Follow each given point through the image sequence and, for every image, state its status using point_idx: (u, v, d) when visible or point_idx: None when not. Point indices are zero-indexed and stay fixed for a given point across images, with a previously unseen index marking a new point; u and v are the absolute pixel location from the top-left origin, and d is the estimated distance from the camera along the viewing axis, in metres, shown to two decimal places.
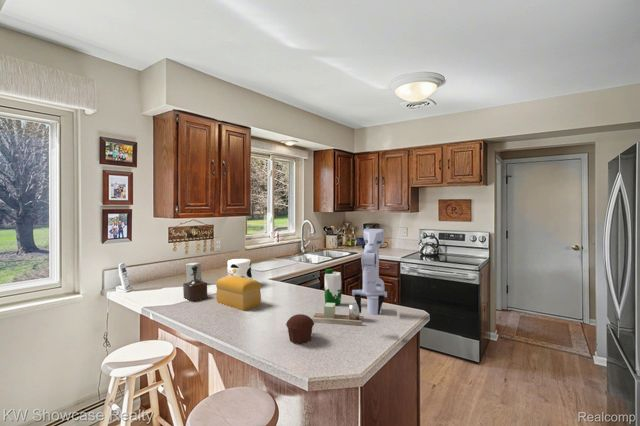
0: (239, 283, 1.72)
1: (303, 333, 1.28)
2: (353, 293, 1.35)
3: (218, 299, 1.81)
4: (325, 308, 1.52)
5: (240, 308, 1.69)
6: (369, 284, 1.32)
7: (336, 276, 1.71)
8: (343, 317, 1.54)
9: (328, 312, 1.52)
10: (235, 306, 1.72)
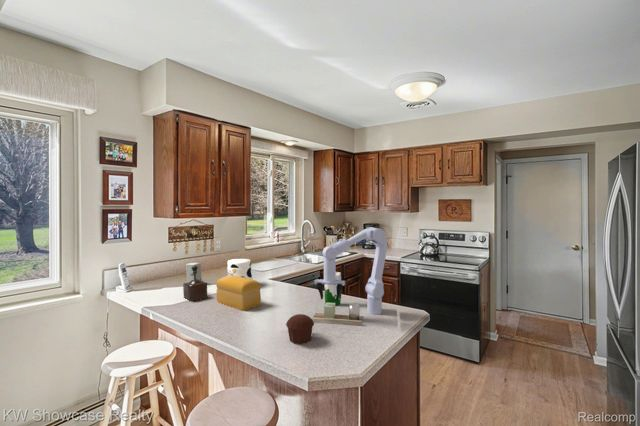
0: (239, 283, 1.71)
1: (303, 333, 1.28)
2: (315, 282, 1.55)
3: (218, 299, 1.82)
4: (325, 308, 1.52)
5: (240, 308, 1.69)
6: (328, 274, 1.52)
7: (336, 276, 1.71)
8: (343, 317, 1.54)
9: (328, 312, 1.52)
10: (235, 306, 1.72)
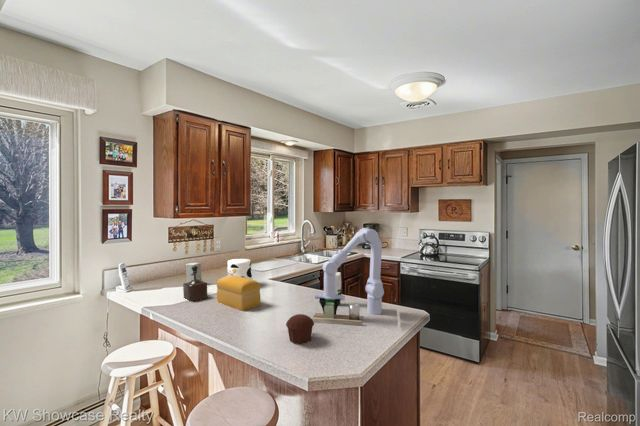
0: (238, 283, 1.71)
1: (303, 333, 1.28)
2: (316, 297, 1.55)
3: (218, 299, 1.82)
4: (325, 308, 1.52)
5: (239, 308, 1.69)
6: (329, 289, 1.52)
7: (336, 276, 1.71)
8: (343, 317, 1.54)
9: (328, 312, 1.52)
10: (234, 306, 1.72)
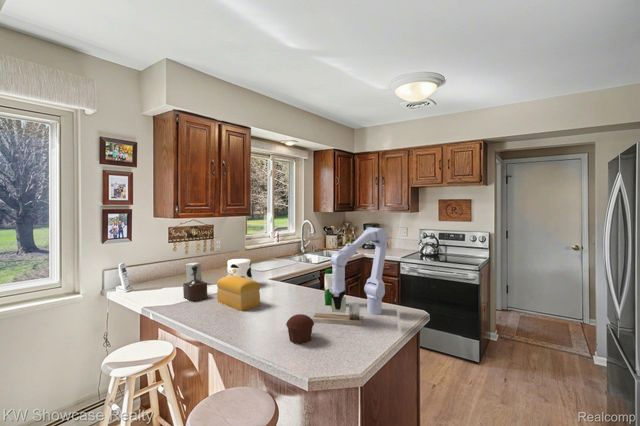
0: (238, 283, 1.71)
1: (303, 333, 1.28)
2: None
3: (218, 299, 1.82)
4: None
5: (238, 308, 1.69)
6: None
7: None
8: (343, 317, 1.54)
9: None
10: (234, 306, 1.72)
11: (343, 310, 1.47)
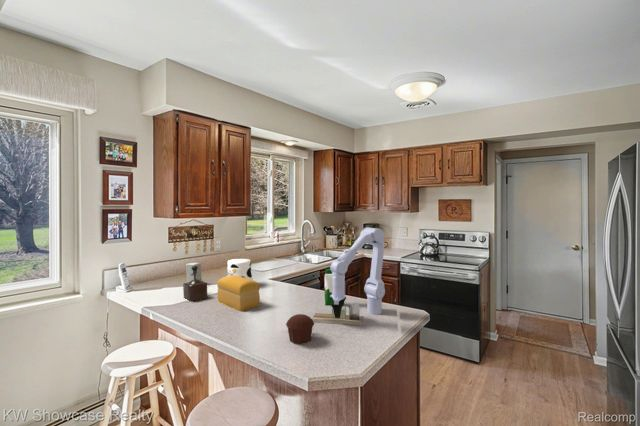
0: (237, 283, 1.71)
1: (303, 333, 1.28)
2: None
3: (219, 299, 1.82)
4: None
5: (237, 308, 1.69)
6: None
7: None
8: None
9: None
10: (233, 306, 1.72)
11: None
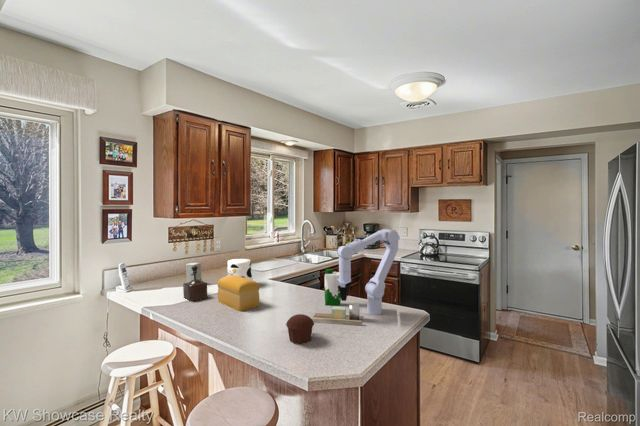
0: (237, 283, 1.71)
1: (303, 333, 1.28)
2: None
3: (219, 299, 1.83)
4: None
5: (237, 308, 1.69)
6: (339, 272, 1.56)
7: (336, 276, 1.71)
8: None
9: None
10: (233, 306, 1.72)
11: None
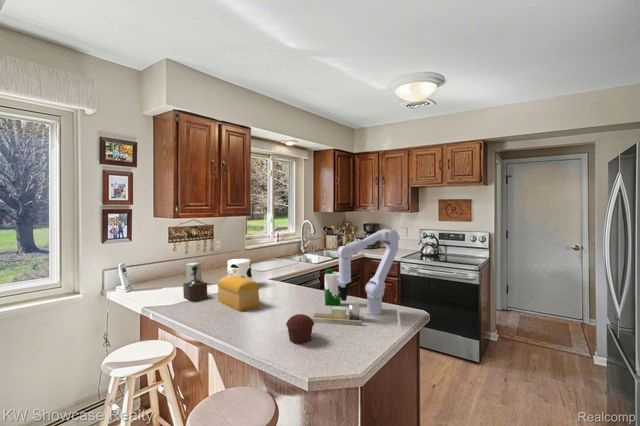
0: (236, 283, 1.71)
1: (303, 333, 1.28)
2: None
3: (219, 299, 1.83)
4: None
5: (236, 308, 1.69)
6: (339, 272, 1.56)
7: (336, 276, 1.71)
8: None
9: None
10: (232, 306, 1.72)
11: None
